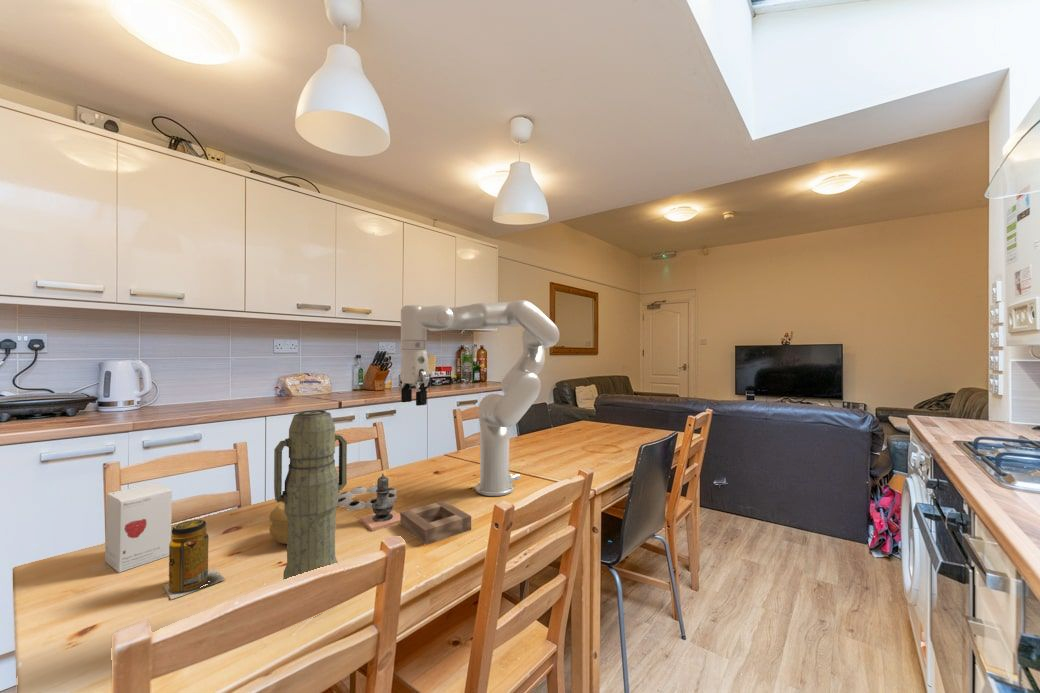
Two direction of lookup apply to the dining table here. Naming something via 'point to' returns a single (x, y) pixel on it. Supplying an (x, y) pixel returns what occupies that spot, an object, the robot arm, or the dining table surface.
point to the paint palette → (359, 490)
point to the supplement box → (138, 526)
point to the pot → (279, 524)
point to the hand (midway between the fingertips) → (413, 403)
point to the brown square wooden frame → (435, 522)
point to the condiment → (189, 560)
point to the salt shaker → (382, 501)
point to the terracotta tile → (375, 525)
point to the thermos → (310, 490)
